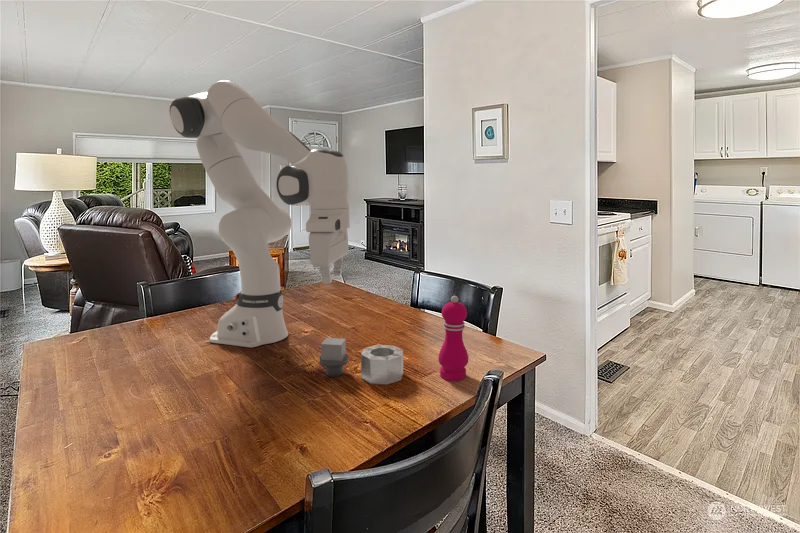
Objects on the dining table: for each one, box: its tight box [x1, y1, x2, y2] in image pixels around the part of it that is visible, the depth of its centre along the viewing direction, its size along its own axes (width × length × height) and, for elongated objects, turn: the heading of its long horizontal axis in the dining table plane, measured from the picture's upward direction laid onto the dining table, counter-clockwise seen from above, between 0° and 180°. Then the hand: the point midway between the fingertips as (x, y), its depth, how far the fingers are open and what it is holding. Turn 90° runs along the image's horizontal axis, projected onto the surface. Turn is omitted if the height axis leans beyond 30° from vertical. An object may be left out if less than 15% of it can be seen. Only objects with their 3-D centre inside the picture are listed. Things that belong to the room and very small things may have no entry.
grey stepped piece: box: [319, 337, 349, 378], centre depth 113 cm, size 7×7×8 cm
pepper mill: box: [437, 295, 469, 382], centre depth 111 cm, size 7×7×20 cm
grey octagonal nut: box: [360, 344, 404, 385], centre depth 112 cm, size 10×10×6 cm
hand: (332, 279), depth 110 cm, fingers open, 8 cm apart
